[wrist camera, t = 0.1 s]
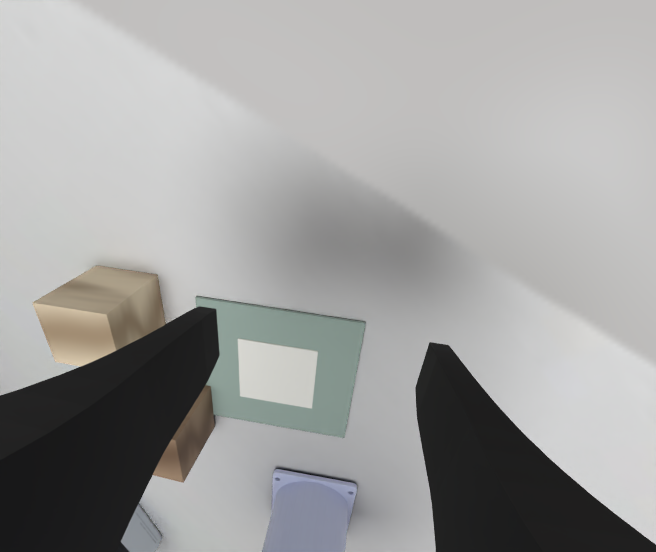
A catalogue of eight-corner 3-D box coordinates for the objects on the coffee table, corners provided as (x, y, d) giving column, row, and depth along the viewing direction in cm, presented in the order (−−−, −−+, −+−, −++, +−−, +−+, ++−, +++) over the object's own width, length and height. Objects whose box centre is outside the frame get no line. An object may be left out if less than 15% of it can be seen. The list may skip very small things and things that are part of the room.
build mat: (344, 436, 28) (344, 439, 28) (209, 412, 29) (207, 414, 29) (365, 321, 22) (365, 324, 22) (196, 296, 23) (194, 298, 23)
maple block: (166, 326, 25) (122, 373, 21) (110, 317, 25) (55, 361, 21) (157, 274, 23) (106, 314, 19) (97, 265, 23) (32, 302, 19)
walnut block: (214, 426, 29) (183, 482, 25) (162, 414, 30) (123, 467, 26) (210, 386, 27) (175, 440, 23) (154, 374, 28) (109, 424, 23)
